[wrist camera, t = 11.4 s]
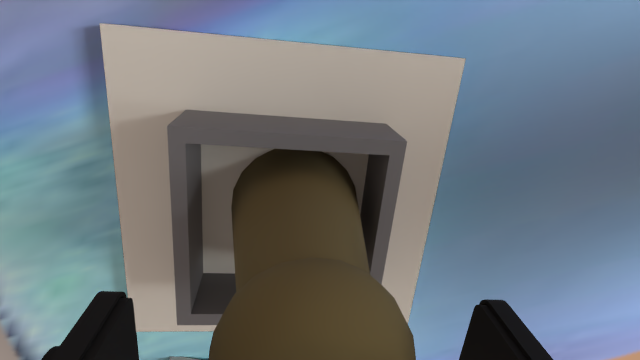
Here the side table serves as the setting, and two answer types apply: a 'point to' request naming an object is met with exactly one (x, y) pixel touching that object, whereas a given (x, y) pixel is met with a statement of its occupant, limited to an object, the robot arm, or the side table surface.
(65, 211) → the side table surface
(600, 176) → the side table surface
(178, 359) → the paintbrush
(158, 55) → the beige square socket base
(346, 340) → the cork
